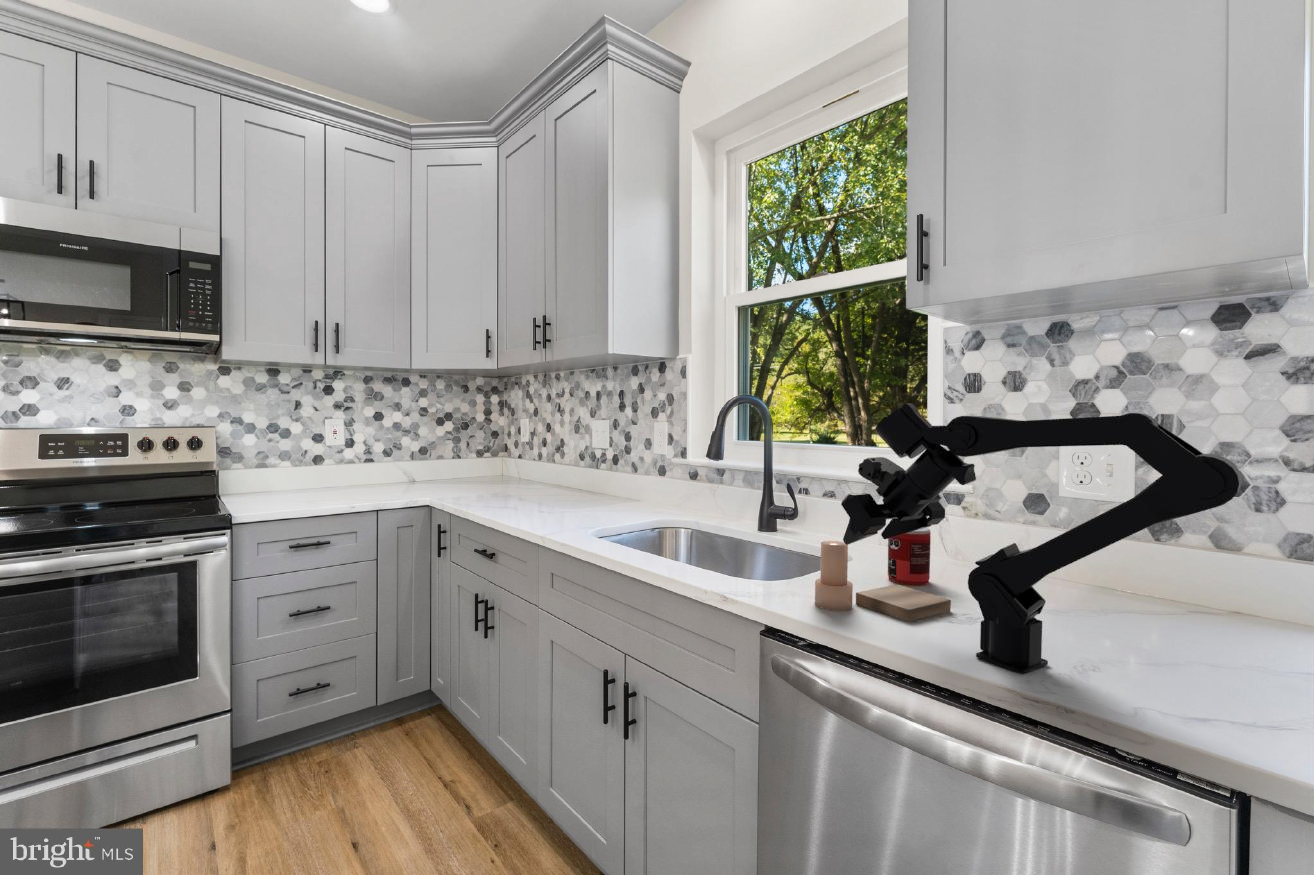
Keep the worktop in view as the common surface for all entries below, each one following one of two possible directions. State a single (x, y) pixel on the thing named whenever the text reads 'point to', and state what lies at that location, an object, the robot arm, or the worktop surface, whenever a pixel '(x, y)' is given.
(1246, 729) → the worktop surface
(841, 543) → the peach chess pawn
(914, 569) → the canned food
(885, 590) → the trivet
